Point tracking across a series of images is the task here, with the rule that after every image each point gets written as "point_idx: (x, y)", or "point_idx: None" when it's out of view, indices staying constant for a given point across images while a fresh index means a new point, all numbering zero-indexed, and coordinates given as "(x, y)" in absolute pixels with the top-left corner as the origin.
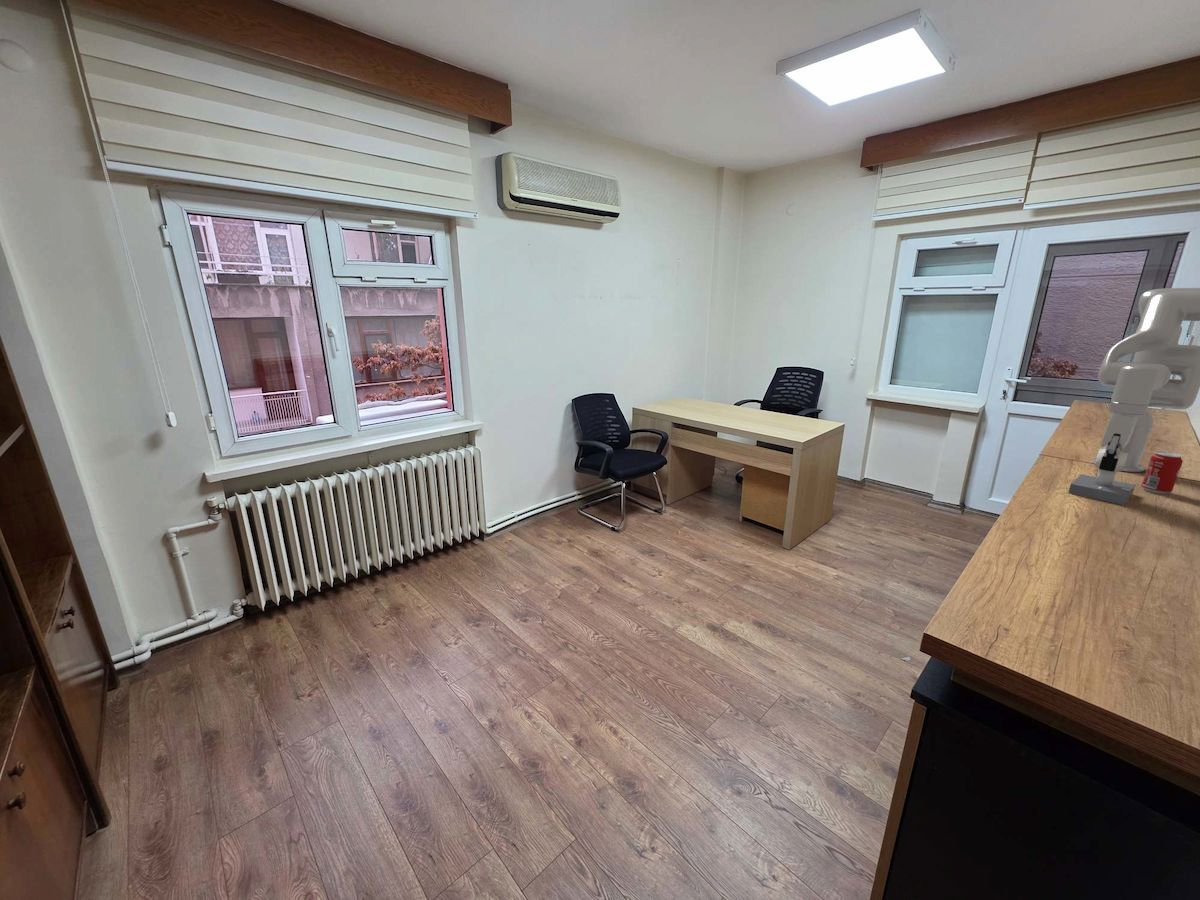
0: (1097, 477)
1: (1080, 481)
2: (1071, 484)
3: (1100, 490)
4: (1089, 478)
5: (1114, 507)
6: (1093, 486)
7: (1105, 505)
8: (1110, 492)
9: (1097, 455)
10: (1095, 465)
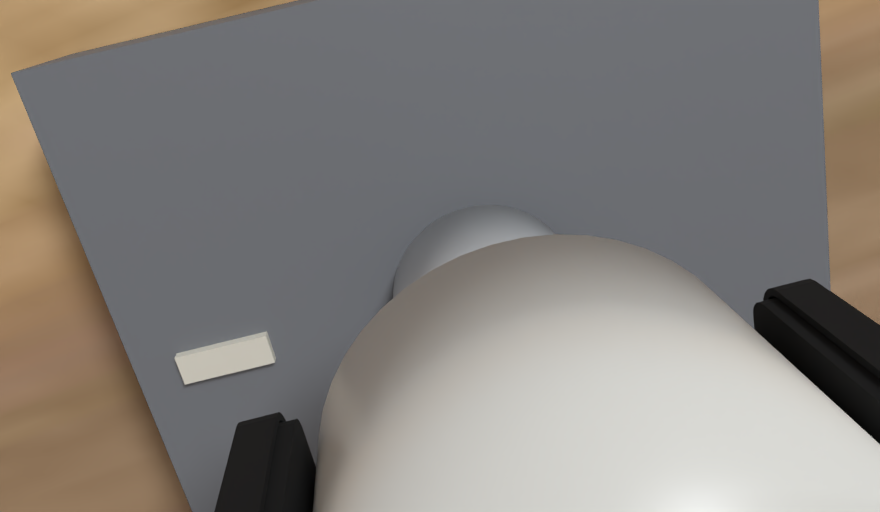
0: (425, 273)
1: (319, 82)
2: (21, 78)
3: (146, 390)
4: (647, 70)
5: (66, 508)
6: (223, 286)
7: (37, 449)
8: (179, 476)
9: (506, 390)
10: (396, 305)
